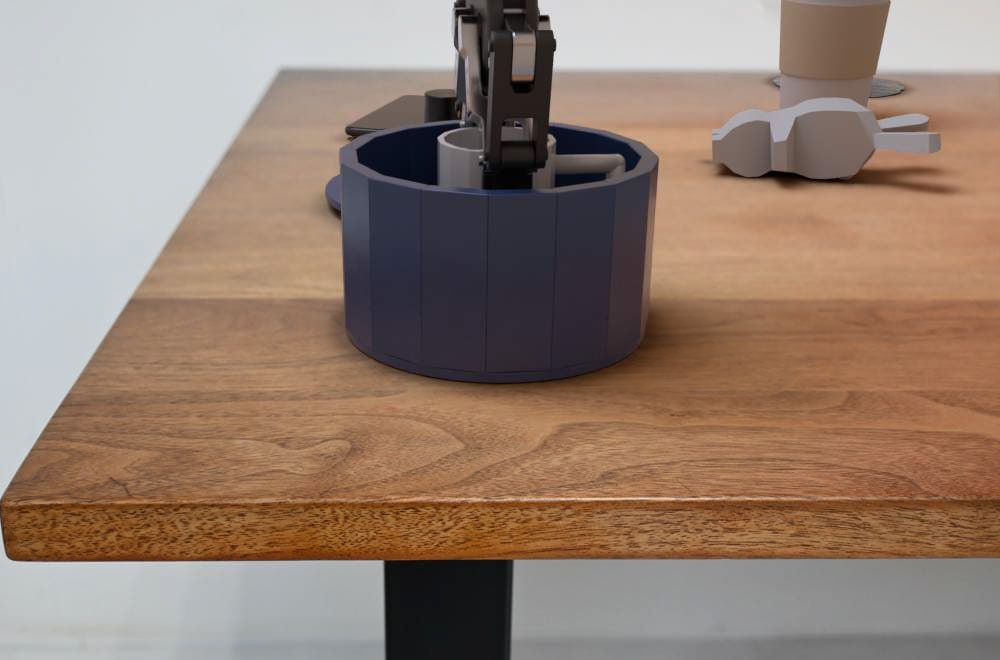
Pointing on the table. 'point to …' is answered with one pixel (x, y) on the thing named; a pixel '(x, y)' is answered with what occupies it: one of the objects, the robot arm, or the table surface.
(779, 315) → the table surface
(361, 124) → the smartphone
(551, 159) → the mug
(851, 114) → the bunny figurine
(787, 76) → the coffee cup
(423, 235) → the pot
